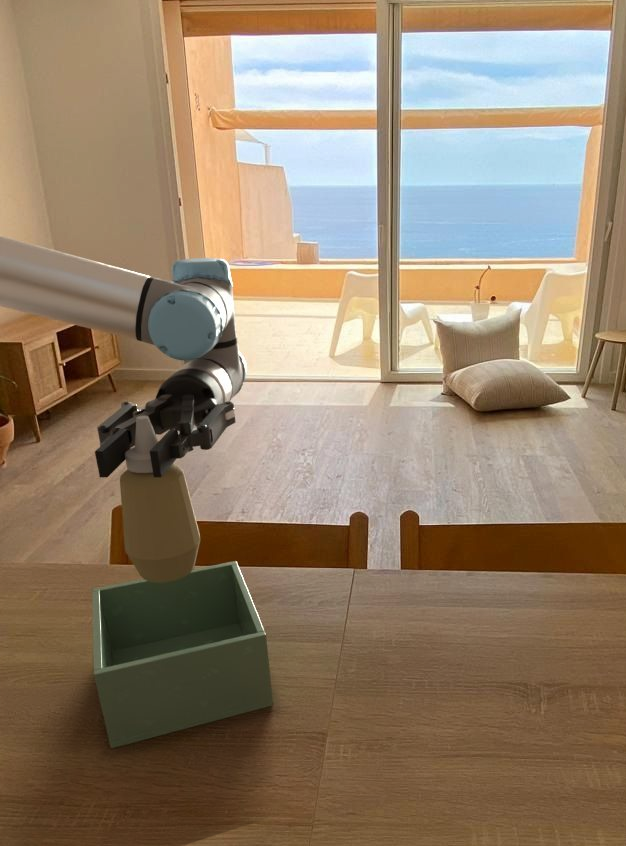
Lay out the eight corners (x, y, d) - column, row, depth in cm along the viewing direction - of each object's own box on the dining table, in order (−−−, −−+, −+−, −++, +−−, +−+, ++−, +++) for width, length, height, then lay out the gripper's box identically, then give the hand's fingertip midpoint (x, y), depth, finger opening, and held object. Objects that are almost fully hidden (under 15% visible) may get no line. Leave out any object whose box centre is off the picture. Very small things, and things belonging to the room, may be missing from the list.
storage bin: (106, 654, 89) (92, 588, 85) (243, 623, 95) (236, 560, 90) (111, 748, 74) (93, 674, 70) (273, 705, 80) (266, 634, 76)
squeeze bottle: (114, 583, 76) (82, 426, 68) (157, 549, 83) (132, 403, 75) (179, 594, 73) (153, 433, 66) (217, 558, 80) (198, 408, 73)
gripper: (266, 424, 89) (223, 499, 68) (130, 424, 90) (46, 500, 69) (261, 366, 86) (214, 426, 65) (121, 367, 87) (29, 427, 66)
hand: (128, 464), depth 67 cm, fingers closed on squeeze bottle, 5 cm apart
